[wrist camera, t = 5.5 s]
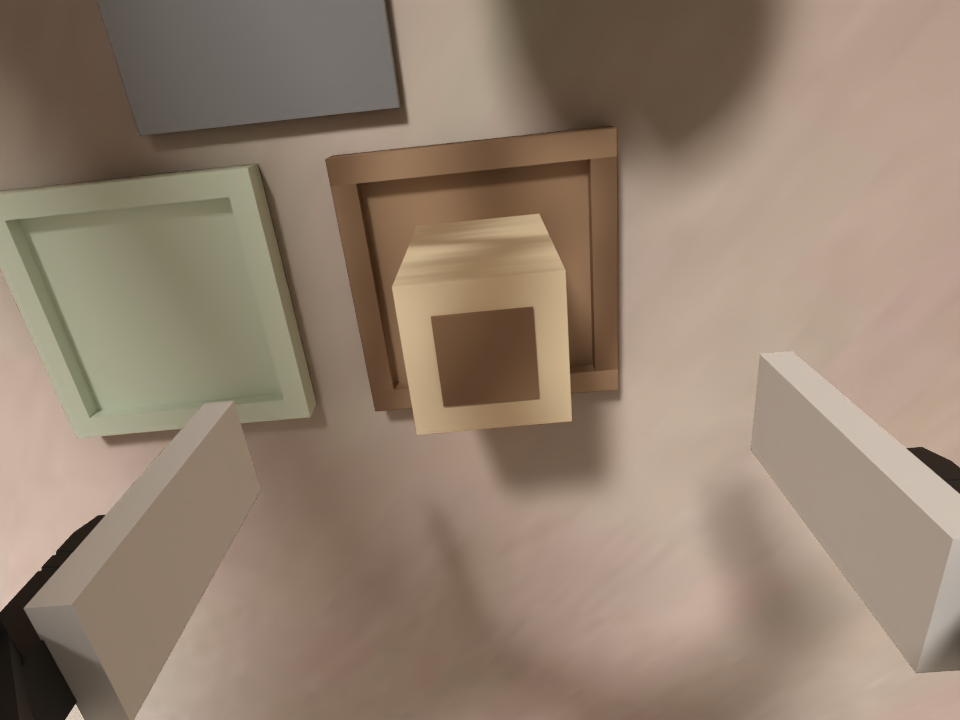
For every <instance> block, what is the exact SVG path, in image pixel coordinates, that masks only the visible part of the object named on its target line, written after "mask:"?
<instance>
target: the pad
mask: <svg viewBox="0 0 960 720" xmlns="http://www.w3.org/2000/svg"><path fill="white" fill-rule="evenodd" d="M97 3H98V6H99V9H100V12H101V15H102V18H103V22H104V25H105V28H106V31H107V34H108V37H109V40H110V44H111V47H112V50H113V53H114V56H115V59H116V63H117V66H118V69H119V72H120V75H121V78H122V81H123V85H124V88H125V91H126V94H127V97H128V100H129V104H130V107H131V110H132V113H133V116H134V119H135V122H136V126H137V129H138V132H139V135H140V136H143V135H152V134H161V133H170V132H179V131H188V130H198V129H207V128H216V127H225V126H234V125H243V124H252V123H261V122H271V121H280V120H289V119H298V118H307V117H316V116H325V115H334V114H344V113H353V112H362V111H371V110H380V109H389V108H398V107H401V102H400V95H399V88H398V82H397V75H396V68H395V61H394V54H393V47H392V40H391V33H390V26H389V19H388V12H387V5H386V0H97Z"/></svg>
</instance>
